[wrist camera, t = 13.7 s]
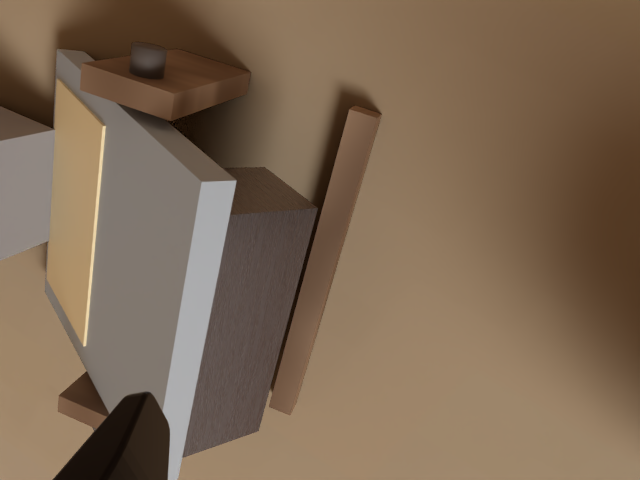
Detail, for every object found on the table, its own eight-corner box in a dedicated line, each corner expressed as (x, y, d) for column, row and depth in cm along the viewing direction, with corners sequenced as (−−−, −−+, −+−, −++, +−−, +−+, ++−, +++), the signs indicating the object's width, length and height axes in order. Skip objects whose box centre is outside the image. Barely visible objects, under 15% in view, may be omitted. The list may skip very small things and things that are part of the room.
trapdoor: (326, 176, 17) (198, 182, 15) (253, 451, 22) (146, 491, 19) (157, 58, 25) (54, 48, 22) (130, 279, 30) (42, 291, 27)
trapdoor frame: (388, 91, 20) (349, 120, 15) (291, 417, 27) (243, 510, 22) (180, 26, 22) (83, 34, 17) (135, 352, 28) (56, 426, 23)
